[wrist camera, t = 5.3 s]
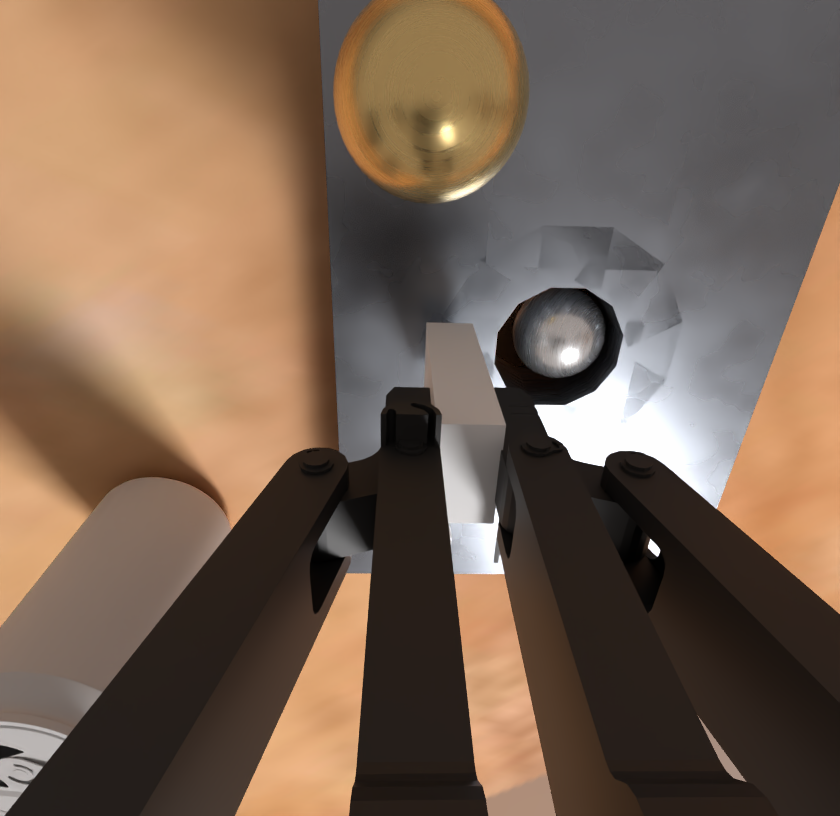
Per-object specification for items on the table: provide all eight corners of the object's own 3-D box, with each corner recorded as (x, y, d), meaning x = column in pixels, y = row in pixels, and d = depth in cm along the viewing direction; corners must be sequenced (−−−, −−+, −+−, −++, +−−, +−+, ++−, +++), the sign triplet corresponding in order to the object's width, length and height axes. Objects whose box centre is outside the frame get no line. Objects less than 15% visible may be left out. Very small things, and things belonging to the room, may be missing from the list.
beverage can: (127, 446, 25) (-83, 690, 14) (257, 501, 26) (157, 756, 16) (90, 538, 27) (-111, 803, 16) (211, 582, 29) (98, 849, 18)
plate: (351, 521, 27) (344, 573, 24) (331, -26, 17) (315, -60, 13) (659, 524, 28) (691, 574, 24) (827, -2, 17) (919, -29, 14)
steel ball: (609, 374, 22) (535, 350, 24) (630, 290, 20) (548, 271, 22) (569, 402, 19) (490, 372, 21) (588, 309, 18) (500, 286, 20)
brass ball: (346, 190, 16) (326, 213, 12) (340, -5, 14) (313, -60, 10) (501, 195, 16) (534, 219, 12) (520, 4, 14) (569, -47, 10)
